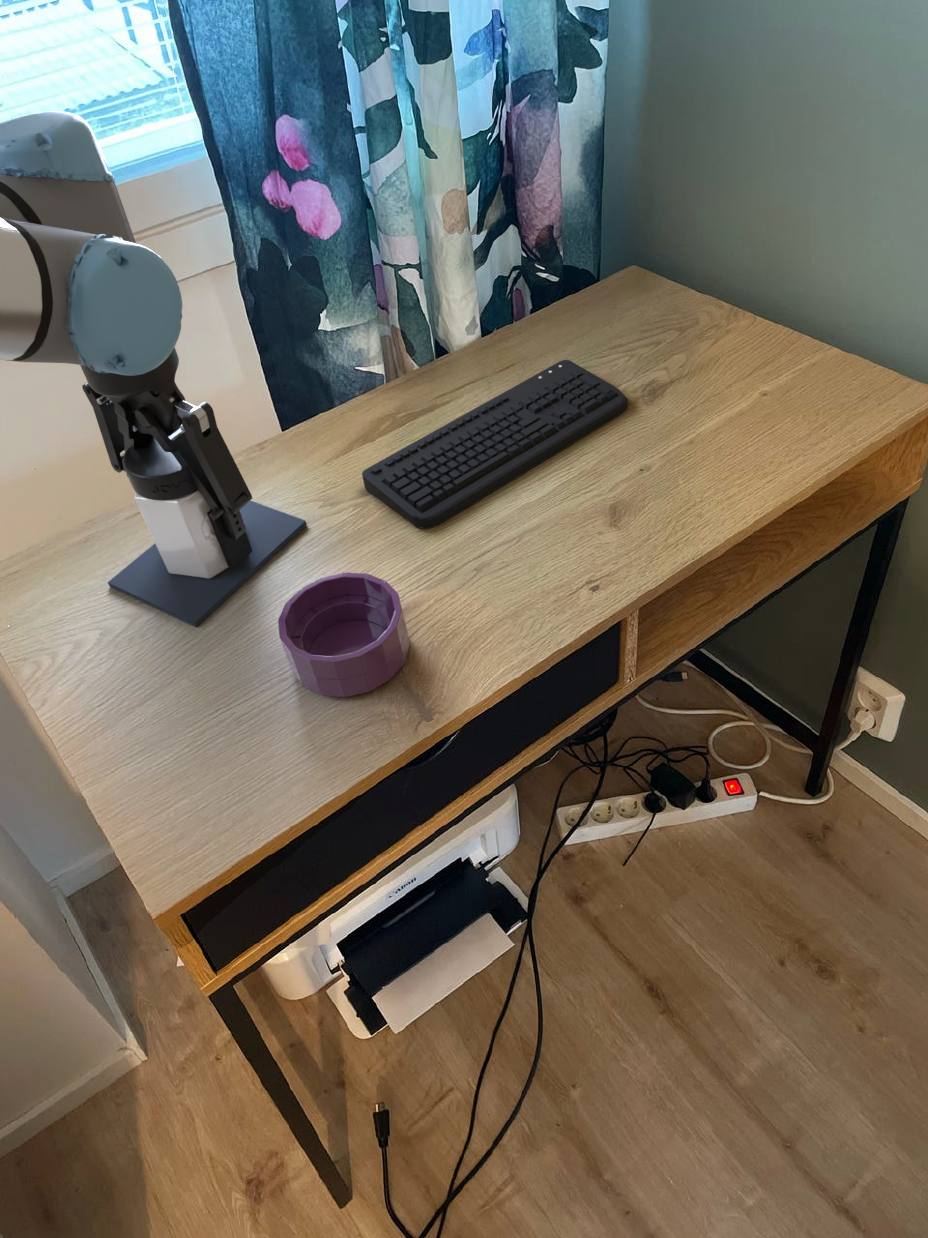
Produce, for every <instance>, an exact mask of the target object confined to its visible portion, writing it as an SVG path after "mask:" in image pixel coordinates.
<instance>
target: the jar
mask: <svg viewBox="0 0 928 1238" xmlns="http://www.w3.org/2000/svg"><path fill="white" fill-rule="evenodd" d="M181 426H182V424H181ZM181 431H182V430H181V427H180V428H179V429H178V430H177V431H176V432H175V433H173V434H172V435H171V436H169V438H170V439H172V438H173V437H175V436H176V435H177V434H179V433H180V432H181ZM124 453H125V454H124ZM124 453H123V454H124V457H123V467H124V469H125V471H126V472H125V471H124V472H125V474H126V477H127V476H128V477H127V478H128V481H129V483H130V485H131V487H132V489H133V490H134V493H133V494H134V495H133V496H134V498H133V499H134V501H135V504H136V505H137V507H138V508H137V509H139V512H140V514H141V516H142V519H143V520H144V522H145V524H146V527H147V529H148V531H149V533H150V537H152V540H153V542H154V544H156V546H157V548H158V551H159V553H160V555H161V557H162V559H163V561H164V564H165V566H166V568H167V570H168V572H169V573H170V574H177V575H185V576H193V577H200V578H208V579H210V578H212V577H214V576H216V575H217V574H219V573H220V572H222V571H223V570H225V569H227V568H228V567H229V566H228V565H227V562H226V560H225V557H224V555H223V552H222V550H221V547H220V545H219V542H218V540H217V537H216V535H215V532H214V530H213V527H212V525H211V522H210V520H209V517H208V516H207V512H208V511H210V510H211V508H210V506H209V505H208V503H207V502H206V501H205V499H204V498H203V496H202V495H201V493H200V492H199V491H198V489H197V488H196V486H195V485H194V483H193V480H192V478H191V475H190V473H189V471H188V469H187V468H185V467H182V466H181V465H180V464H179V463H178V461H177V460H176V458H175V457H174V455H173V454H172V453H171V452H165V451H164V450H163V449H162V448H161V446H160V445H159V443H158V442H157V441H156V439H155V438H154V436H152V437H150V438H149V439H148V440H146V441H145V442H144V443H142V444H141V445H139V446H138V447H137V448H135V449H132V448H128V449H127V451H126V452H125V451H124ZM218 499H219V498H218ZM241 516H242V515H241ZM242 520H243V519H242ZM245 532H246V531H245Z"/></svg>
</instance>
